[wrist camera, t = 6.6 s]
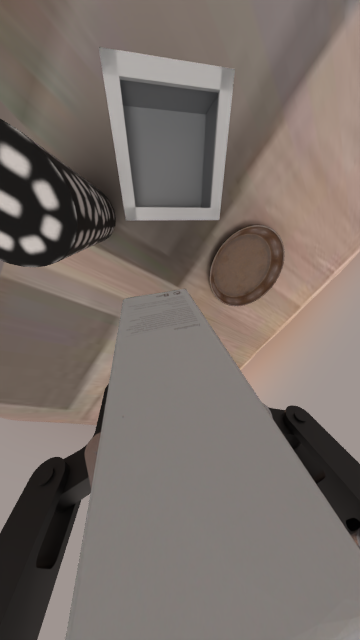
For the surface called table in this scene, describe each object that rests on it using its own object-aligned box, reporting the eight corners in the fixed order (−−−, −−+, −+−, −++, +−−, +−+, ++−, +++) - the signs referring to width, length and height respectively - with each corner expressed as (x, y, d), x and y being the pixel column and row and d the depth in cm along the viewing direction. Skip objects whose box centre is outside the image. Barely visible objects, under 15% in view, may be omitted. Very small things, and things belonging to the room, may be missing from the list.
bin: (213, 104, 24) (234, 69, 18) (205, 220, 31) (219, 219, 26) (109, 91, 21) (98, 46, 16) (128, 220, 29) (125, 220, 23)
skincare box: (122, 297, 14) (-60, 919, 1) (189, 286, 15) (454, 651, 2) (143, 363, 18) (142, 660, 6) (194, 353, 19) (289, 599, 7)
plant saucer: (258, 303, 45) (265, 308, 42) (198, 300, 40) (202, 305, 38) (288, 231, 36) (299, 232, 33) (216, 218, 32) (223, 217, 29)
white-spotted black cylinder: (123, 207, 28) (94, 185, 11) (104, 251, 31) (58, 285, 14) (70, 169, 24) (-91, 50, 7) (54, 222, 27) (-89, 222, 10)
